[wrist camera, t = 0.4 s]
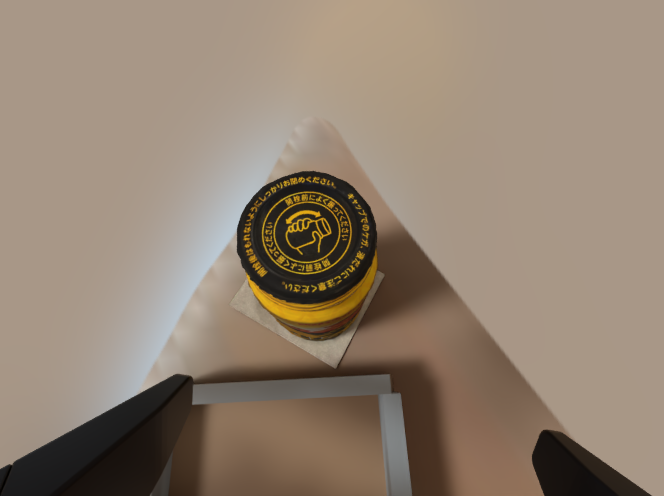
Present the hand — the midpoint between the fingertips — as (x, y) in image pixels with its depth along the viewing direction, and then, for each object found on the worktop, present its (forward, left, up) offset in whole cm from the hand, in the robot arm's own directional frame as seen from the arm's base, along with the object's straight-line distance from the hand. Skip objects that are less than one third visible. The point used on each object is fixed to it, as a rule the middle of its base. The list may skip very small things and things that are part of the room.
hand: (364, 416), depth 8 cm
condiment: (+7, +2, -14) cm, 15 cm away
